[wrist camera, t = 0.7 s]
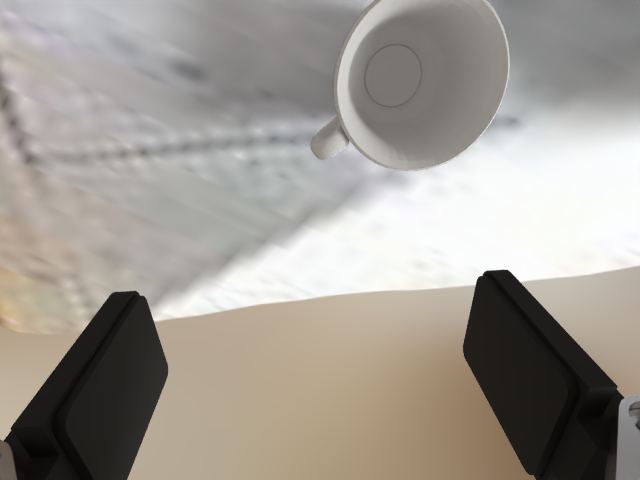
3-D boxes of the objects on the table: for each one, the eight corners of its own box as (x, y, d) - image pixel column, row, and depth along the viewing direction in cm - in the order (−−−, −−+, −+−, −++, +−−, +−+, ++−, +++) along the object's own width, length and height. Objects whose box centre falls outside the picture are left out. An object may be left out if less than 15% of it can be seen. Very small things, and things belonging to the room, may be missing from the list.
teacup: (271, 75, 33) (262, 86, 24) (417, -38, 29) (469, -74, 21) (342, 180, 38) (356, 221, 29) (474, 93, 34) (535, 110, 26)
